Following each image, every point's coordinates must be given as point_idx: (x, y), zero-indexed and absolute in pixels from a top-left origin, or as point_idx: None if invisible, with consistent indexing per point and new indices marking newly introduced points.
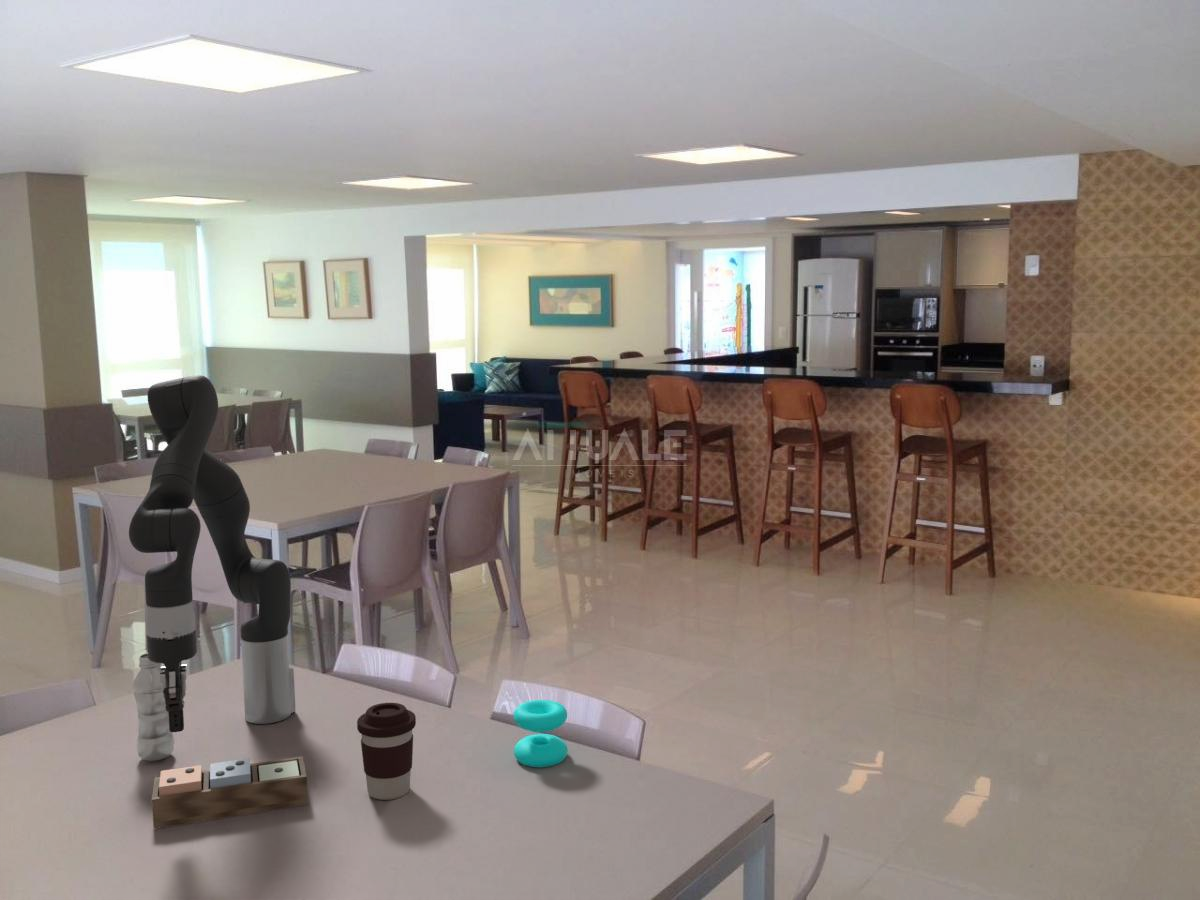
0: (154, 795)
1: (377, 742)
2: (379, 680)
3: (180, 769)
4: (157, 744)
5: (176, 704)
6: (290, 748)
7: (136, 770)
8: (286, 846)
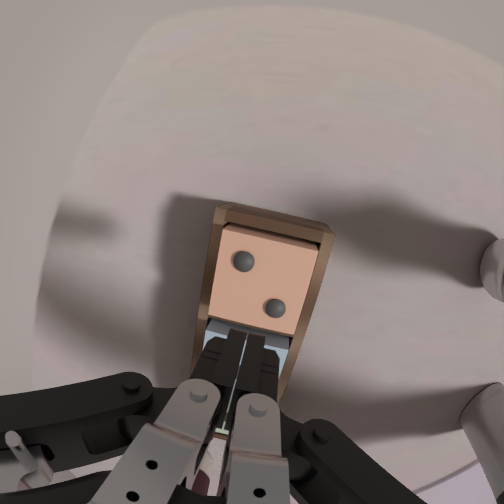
0: (234, 216)
1: None
2: (450, 478)
3: (298, 292)
4: (494, 272)
5: (117, 424)
6: (384, 423)
7: (476, 225)
8: (102, 342)
